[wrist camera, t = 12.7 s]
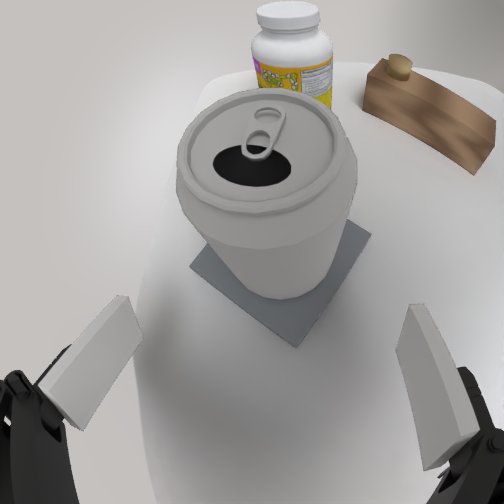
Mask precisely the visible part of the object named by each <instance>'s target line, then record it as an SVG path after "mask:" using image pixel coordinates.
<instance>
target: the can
mask: <svg viewBox="0 0 504 504" xmlns="http://www.w3.org/2000/svg"><path fill="white" fill-rule="evenodd" d="M177 168H178V169H177V180H176V193H177V196H178V199H179V202H180V204H181V207H182V210H183V212H184V214H185V216H186V217H187V218H188V219H189V220H190V222H191V223H192V224H193V225H194V227H195V228H196V229H197V230H198V232H199V233H200V234H201V235H202V236H203V238H204V239H205V240H206V241H207V242H208V244H209V245H210V246H211V247H212V249H213V250H214V251H215V252H216V253H217V255H218V256H219V257H220V258H221V259H222V261H223V262H224V263H225V264H226V265H227V267H228V268H229V269H230V270H231V271H232V273H233V274H234V275H235V276H236V277H237V278H238V279H239V280H240V281H241V283H242V284H243V285H244V286H245V287H246V288H247V289H248V290H250V291H252V292H254V293H256V294H258V295H260V296H262V297H266V298H272V299H278V300H282V299H289V298H295V297H299V296H301V295H303V294H305V293H307V292H309V291H311V290H312V289H314V288H315V287H316V286H317V285H318V284H319V283H320V282H321V281H322V280H323V279H324V278H325V277H326V275H327V273H328V270H329V268H330V266H331V264H332V262H333V259H334V256H335V253H336V250H337V247H338V244H339V241H340V238H341V235H342V232H343V229H344V226H345V223H346V220H347V216H348V213H349V210H350V207H351V203H352V200H353V196H354V193H355V189H356V186H357V158H356V156H355V154H354V151H353V149H352V146H351V144H350V142H349V140H348V138H347V137H346V134H345V132H344V130H343V128H342V126H341V124H340V121H339V119H338V117H337V116H336V115H335V114H334V113H333V112H332V111H331V110H330V109H329V108H327V107H326V106H325V105H324V104H323V103H321V102H320V101H318V100H316V99H314V98H312V97H310V96H308V95H306V94H304V93H300V92H296V91H292V90H287V89H283V88H258V89H252V90H247V91H242V92H238V93H235V94H233V95H230V96H228V97H225V98H223V99H221V100H218V101H217V102H215V103H214V104H212V105H211V106H209V107H208V108H206V109H205V110H204V111H202V112H201V113H200V114H199V115H198V116H197V117H196V118H195V119H194V120H193V122H192V123H191V124H190V125H189V126H188V127H187V128H186V130H185V132H184V134H183V136H182V139H181V141H180V143H179V145H178V151H177Z"/></svg>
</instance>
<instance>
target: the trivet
mask: <svg viewBox="0 0 504 504" xmlns="http://www.w3.org/2000/svg"><path fill="white" fill-rule="evenodd" d="M370 236H371V234H370V233H369V232H367V231H366V230H364V229H363V228H361V227H359V226H358V225H356V224H354V223H353V222H351V221H350V220H348V219H347V220H346V223H345V226H344V229H343V232H342V235H341V238H340V241H339V244H338V247H337V250H336V253H335V256H334V259H333V262H332V264H331V266H330V268H329V270H328V273H327V275H326V277H325V278H324V279H323V280H322V281H321V282H320V283H319V284H318V285H317V286H316V287H315V288H314V289H312V290H311V291H309V292H307V293H305V294H303V295H301V296H299V297H295V298H289V299H282V300H278V299H272V298H266V297H262V296H260V295H258V294H256V293H254V292H252V291H250V290H248V289H247V288H246V287H245V286H244V285H243V284H242V283H241V281H240V280H239V279H238V278H237V277H236V276H235V275H234V274H233V273H232V271H231V270H230V269H229V268H228V267H227V265H226V264H225V263H224V262H223V261H222V259H221V258H220V257H219V256H218V255H217V253H216V252H215V251H214V250H213V249H212V247H211V246H210V245H209V244H207V245H206V246H205V247H204V249H203V250H202V251H201V252H200V254H199V255H198V256H197V257H196V259H195V260H194V261H193V262H192V264H191V265H190V266H189V267H190V268H191V269H192V270H194V271H195V272H196V273H197V274H199V275H200V276H201V277H202V278H204V279H205V280H206V281H207V282H209V283H210V284H211V285H212V286H214V287H215V288H216V289H217V290H219V291H220V292H221V293H223V294H224V295H225V296H226V297H228V298H229V299H230V300H232V301H233V302H234V303H235V304H237V305H238V306H239V307H241V308H242V309H243V310H245V311H246V312H247V313H249V314H250V315H251V316H253V317H254V318H255V319H257V320H258V321H259V322H261V323H262V324H263V325H265V326H266V327H267V328H269V329H270V330H272V331H273V332H274V333H276V334H277V335H278V336H280V337H281V338H283V339H284V340H285V341H287V342H288V343H290V344H291V345H292V346H294V347H295V348H297V346H298V345H299V344H300V342H301V341H302V340H303V338H304V337H305V335H306V334H307V333H308V331H309V330H310V329H311V327H312V326H313V324H314V323H315V322H316V320H317V319H318V317H319V316H320V315H321V313H322V312H323V310H324V309H325V307H326V306H327V304H328V303H329V301H330V300H331V299H332V297H333V296H334V294H335V293H336V291H337V290H338V288H339V287H340V285H341V283H342V282H343V280H344V279H345V277H346V276H347V274H348V273H349V271H350V269H351V268H352V266H353V265H354V263H355V261H356V260H357V258H358V257H359V255H360V253H361V252H362V250H363V248H364V247H365V245H366V243H367V242H368V240H369V238H370Z"/></svg>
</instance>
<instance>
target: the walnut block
mask: <svg viewBox="0 0 504 504" xmlns="http://www.w3.org/2000/svg"><path fill="white" fill-rule="evenodd" d="M411 68H412V62H411V60H409V59H408V58H407V57H405V56H402V55H399V54H390V55H389V60H386V59H384V58H382V59H381V60H380V61H379V63H378V64H377V65H376V66H375V67H374V68H373V69H372V70H371V71H370V72H369V73H368V74H367V81H366V89H365V96H364V103H363V109H362V110H363V111H365V112H367V113H369V114H371V115H374V116H376V117H378V118H380V119H382V120H384V121H386V122H388V123H390V124H392V125H394V126H396V127H398V128H400V129H401V130H403V131H405V132H407V133H409V134H411V135H412V136H414V137H416V138H418V139H419V140H421V141H423V142H424V143H426V144H428V145H429V146H431V147H433V148H434V149H436V150H437V151H439V152H441V153H442V154H444V155H445V156H447V157H448V158H450V159H451V160H453V161H454V162H456V163H457V164H459V165H460V166H461V167H463V168H464V169H466V170H467V171H468V172H470V173H471V174H473V175H475V174H476V172H477V171H478V169H479V168H480V167H481V165H482V164H483V162H484V161H485V160H486V158H487V157H488V155H489V154H490V152H491V151H492V149H493V148H494V146H495V131H496V120H494V119H493V118H492V117H490V116H489V115H487V114H486V113H485V112H483V111H482V110H480V109H479V108H477V107H476V106H474V105H473V104H471V103H470V102H468V101H467V100H465V99H464V98H462V97H460V96H459V95H457V94H455V93H454V92H452V91H450V90H449V89H447V88H445V87H443V86H441V85H440V84H438V83H436V82H434V81H432V80H430V79H428V78H426V77H424V76H422V75H420V74H418V73H416V72H414V71H412V70H411Z"/></svg>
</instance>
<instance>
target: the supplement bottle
mask: <svg viewBox="0 0 504 504" xmlns="http://www.w3.org/2000/svg"><path fill="white" fill-rule="evenodd" d="M256 15H257V20H258V24H259V25H260V26H261V28H262V30H263V31H261V32H260V33H258V34H257V35H256V36H255V38H254V39H253V41H252V44H251V50H252V56H253V60H254V65H255V69H256V74H257V80H258V85H259V88H283V89H287V90H292V91H296V92H300V93H304V94H306V95H308V96H310V97H312V98H314V99H316V100H318V101H320V102H321V103H323V104H324V105H325V106H326V107H327V108H329V109H330V110H331V101H332V70H333V45H332V42H331V40H330V38H329V37H328V36H327V35H326V34H325V33H324V32H323V31H321V30H319V29H318V28H317V26H318V25H319V22H320V14H319V8H318V7H317V6H315V5H313V4H311V3H307V2H299V1H282V2H274V3H270V4H267V5H264V6H262V7H260V8H258V9H257V11H256Z"/></svg>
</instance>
